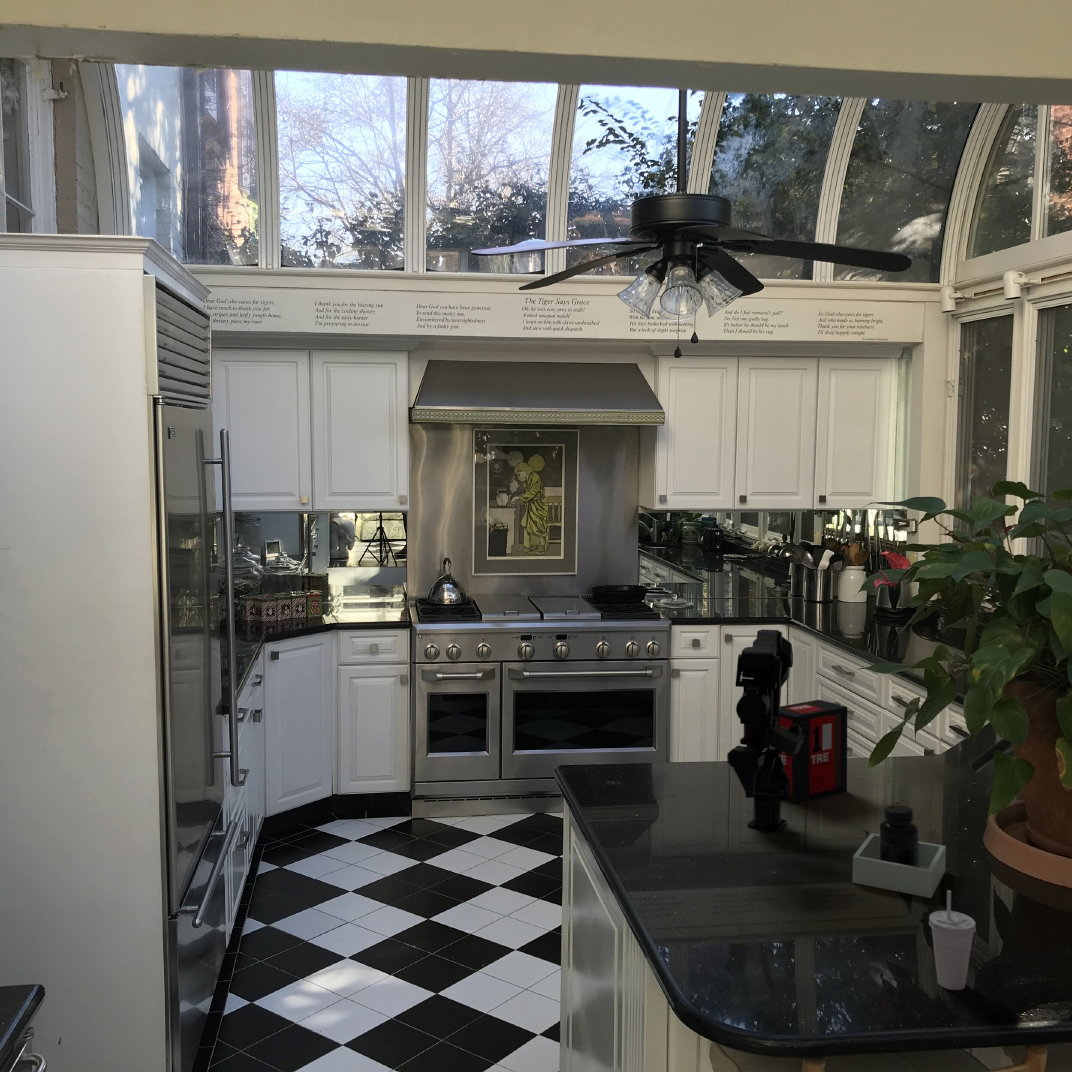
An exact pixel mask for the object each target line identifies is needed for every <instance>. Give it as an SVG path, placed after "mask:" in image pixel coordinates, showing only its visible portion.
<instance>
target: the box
mask: <svg viewBox="0 0 1072 1072" xmlns="http://www.w3.org/2000/svg"><path fill="white" fill-rule="evenodd" d="M946 848H947V845H943V844H937V843H930V842H924V841H919V867H914V866H909V865H903V864H898V863H893V862H887V861H882V860H880V833H873V832H871V833H869V835H868V836H867V838H866V839H865V840H864V842H863V843H862V844H861V845H860V847H859V848H858V849H857V851H856V852H855V853H854V854H853V856H852V883H854V884H858V885H863V886H868V887H873V888H880V889H884V890H888V891H889V890H890V891H894V892H899V893H903V894H909V895H914V896H919V897H923V898H929V899H932V897H933V895H934V894H935V892H936V890H937V888H938V886H939V884H940V882H941V880H942V878H943V876H944V875H945V873H946V856H947V855H946V851H947V849H946Z"/></svg>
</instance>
